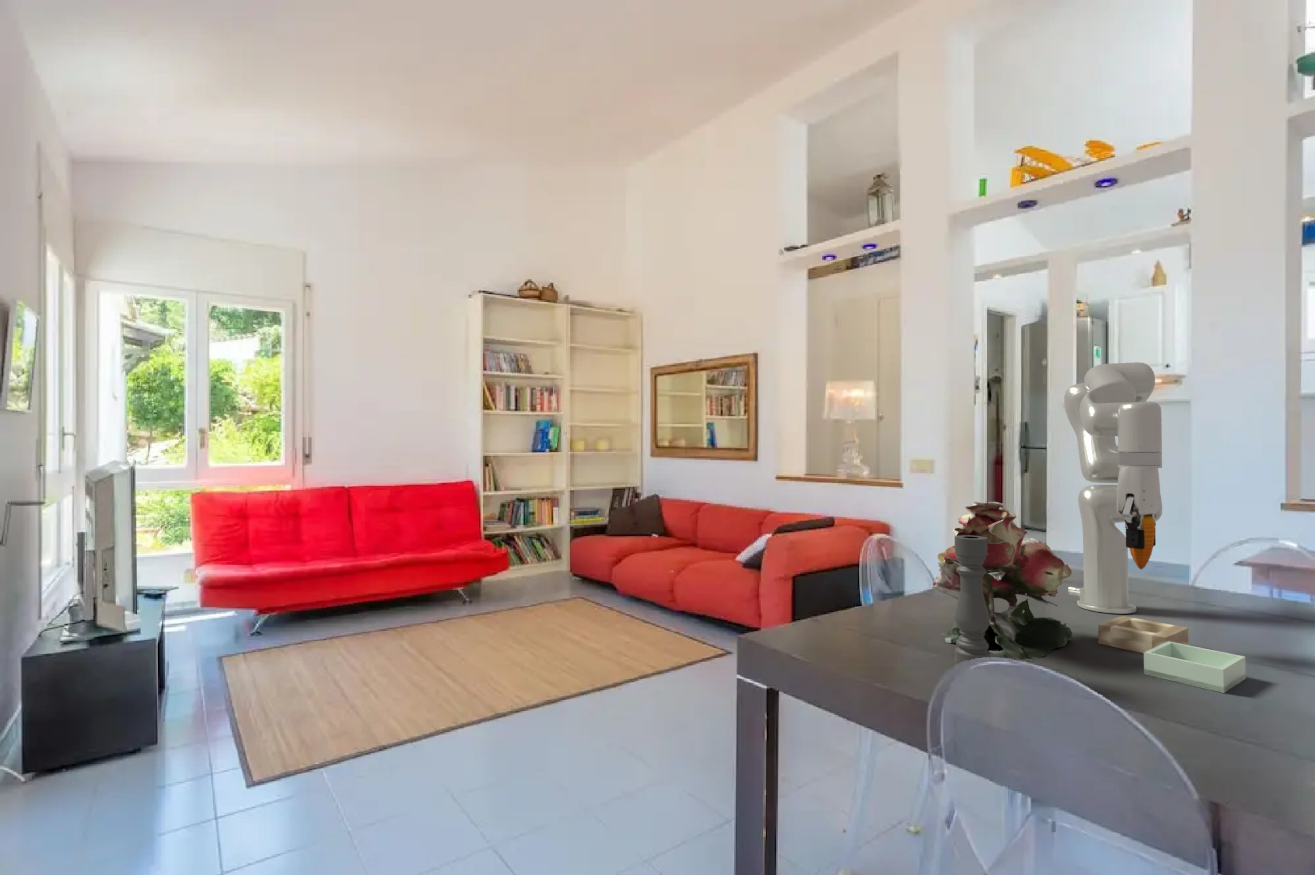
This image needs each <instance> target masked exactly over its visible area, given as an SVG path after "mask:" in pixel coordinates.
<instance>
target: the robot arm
mask: <svg viewBox="0 0 1315 875" xmlns="http://www.w3.org/2000/svg"><path fill="white" fill-rule="evenodd" d="M1083 378H1084V379H1083V380H1084V382H1081V383H1076V384H1073V385H1070V386H1069V387H1068V388H1067V389H1065V391H1064V392H1065V393H1064V397H1063V400H1064V402H1063V403H1064V409H1065V414H1066V417H1067V419H1068V421H1069V424H1070V426H1071V427H1072V429H1073V432H1074V434H1075V436H1076V440H1077V448H1078V455H1079V456H1078V458H1079V464H1080V470H1081V473H1082V477H1083V478H1084V479H1085V480H1086V481H1087V482H1090V483H1097V484H1092V485H1088V486H1085V487H1083V488H1082V489H1081V490H1080V491H1079V493H1078V496H1077V497H1078V498H1077V499H1078V500H1077V501H1078V508H1079V512H1080V519H1081V524H1082V546H1083V547H1082V550H1083V552H1082V553H1083V554H1082V555H1083V558H1082V559H1083V586H1082V587H1077V586H1076V587H1075V586H1068V588H1067V594H1068V595H1070V596H1077V597H1078V598H1079V599H1077V600H1076V604H1077V606H1078V607H1079V608H1082V609H1084V610H1088V611H1091V612H1092V611H1093V612H1097V613H1098V612H1099V613H1105V614H1116V615H1118V614H1119V615H1120V614H1125V615H1126V614H1133V613H1136V612H1137V606H1136V605H1135V604H1134V603H1132V602H1131V603H1130V602H1129V601H1130V600H1129V552H1128V551H1129V548H1134V549H1144V548H1145V535H1144V530H1142V526H1143V516H1144V515H1146V516H1150V517H1152V518H1153V519H1154V521H1155V527H1156V525H1157V524H1156V523H1157V522H1158V521H1159V519H1161V516H1162V513H1163V502H1162V495H1161V483H1160V472H1159V469H1162V468H1163V442H1162V441H1163V440H1162V439H1163V438H1162V437H1163V435H1162V427H1163V426H1162V421H1163V420H1162V408H1161V407H1162V406H1161V405H1160V404H1159V403H1157V402H1155V401H1147V400H1149V398H1150V396H1151V395H1152V394H1153V392H1154V389H1155V386H1156V376H1155V372H1154V370H1153V368H1152V367H1151V366H1150V365H1148V363H1144V362H1138V361H1137V362H1119V363H1118V362H1117V363H1103V364H1101V363H1100V364H1097V365H1096V366H1095V365H1094V366H1093V367H1091V368H1090V369H1088V370H1087V372H1086V373H1085V375H1084V377H1083ZM1116 437H1117V443H1116ZM1151 505H1152V507H1151ZM1136 512H1138V513H1139V514H1137V513H1136ZM1136 518H1138V522H1137V519H1136ZM1117 523H1118V524H1121V523H1124V528H1125V533H1124V532H1122V531H1121V530H1120V529H1119V528H1118V527H1117V526H1116V525H1115V524H1117ZM1156 544H1157V543H1156V535H1155V536H1154V545H1153V547H1155V546H1156Z"/></svg>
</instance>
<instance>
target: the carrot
mask: <svg viewBox="0 0 1315 875" xmlns="http://www.w3.org/2000/svg"><path fill="white" fill-rule="evenodd" d="M1151 507H1152V505H1151ZM1136 513H1137V514H1139V513H1138V512H1136ZM1136 519H1137V522H1138V518H1136ZM1142 530H1144V535H1145V548H1144V549H1134V548H1128V550H1129V551H1130V555H1131V557H1132V559H1133V562H1134V563H1135V565H1136V566H1137V568H1138V569H1140V570H1143V569H1144V568H1145V567H1146V565H1147V564H1148V562H1149V560H1150V559H1151V556H1152V553H1153V549H1154V546H1153V545H1154V536H1155V537H1156V526H1155V521H1154V519H1153V518H1152V517H1150V516H1146V515H1144V516H1143V526H1142Z"/></svg>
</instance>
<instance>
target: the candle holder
mask: <svg viewBox="0 0 1315 875" xmlns="http://www.w3.org/2000/svg"><path fill="white" fill-rule="evenodd" d="M954 544H955V554H956V555H957V556H956V557H957V559H958V561H959V563H960V566H958V567H957V568H956V571H957V572H958V573H959V575H960V586H961V591H960V596H959V600H958V599H957V604H956V609H955V614H954V623H956V625H957V627H958V628H959V629H960V631H959V632H960V633H961V635H960V637H959V639H957V641H956V643H955V644H956V646H957V647H955V649H954V666H955V665H956V664H958V663H960V662H962V661H964V660H971V659H975V658H982V657H990V658H991V652H989V651H990V650H989V647H990V645H989V644H990V643H987V642H986V640H985V638H983V636H984V635H985V631H986V630H987V628H988V627H989V623H990V618H989V615H988V611H987V607H986V603H985V599H984V595H983V583H982V577H983V575H985V574H986V569H985V568H983V567H982V565H983V563H984V561H985V559H986V556H987V538H986V537H982V536H970V535H961V536H955V535H954ZM987 649H988V650H987Z"/></svg>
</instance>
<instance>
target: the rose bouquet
mask: <svg viewBox="0 0 1315 875" xmlns="http://www.w3.org/2000/svg"><path fill="white" fill-rule="evenodd" d="M1003 506H1004V503H1001V502H997V501H987V502H985V503H984V502H977V501H975V502H974V504H971V505H970V506H969V505H968V506H964V507H965V509H966V510H967V511H968V512H970V513H967V514H963V515H962V516H960V517H959V518H957V520H958V524H960V525H962V527H953V529H952V534H953V535H954V537H955V536H961V535H970V536H982V537H986V538H987V556H986V559H985V561H984V563H983V565H982V567H983V568H985V569H986V574H985V575H983V577H982V583H983V595H984V599H985V603H986V607H987V611H988V615H989V618H990V623H989V627H988V628H987V630H986V631H985V635H984V636H983V638H985V640H986V642H987V643H988V644H993V643H994V640H995V643H996V644H997V645H999V646H1000V647H1001V648H1002V650H1000V651H999V650H989V648H988V649H987V650H988V651H989V652H990V654H994V655H997V656H999V657H1002V658H1005V659H1007V658H1011V659H1014V660H1025V661H1028V662H1027V663H1029V662H1032V661H1033V659H1031V658H1035V659H1034V661H1035V660H1038V659H1042V658H1044V657H1045V656H1047V655H1049V654H1050V653H1051V654H1052V652H1051V651H1053V650H1055V649H1059V648H1062V647H1065V646H1066V645H1067V644H1068V641H1071V640H1073V631H1072V630H1071V629H1072V628H1070V627H1069V626H1067V623H1066V622H1065V623H1064V624H1062V622H1061V621H1060V620H1058V619H1055V618H1052V617H1044V616H1043V617H1041V616H1039V617H1035V616H1034V614H1033V612H1032V611H1031V609H1030V604H1029V598H1032V599H1033V600H1036V601H1038V602H1041V603H1044V604H1046V605H1049V604H1051V605H1053V606H1055V607H1058V605H1057V604H1054V602H1051V601H1048V600H1046V599H1044V598H1043V597H1045V596H1049V597H1052V598H1056V595H1057V594H1058V593H1059V592H1058V588H1059V586H1061V585H1062V584H1063V582H1062V580H1063V579H1066V578H1069V577H1070V576H1071V575H1072V569H1071V567H1070V566H1069V564H1065V562H1064V561H1063V560H1062V559H1061V558H1059V557H1058V556H1057V555H1056V554H1055V553H1054V552H1053V551H1052V549H1051V547H1050V546H1049V545H1048V544H1047V543H1046V542H1044V541H1041V540H1039V539H1037V538H1032V537H1025V535H1026V534H1028V531H1027V530H1025V528H1024V527H1022V528H1020V527H1018V525H1017V524H1015V522H1013V521H1014V520H1015V519H1016V518H1017V515H1016V513H1014V512H1010V511H1009V510H1008V509H1006V508H1004V507H1003ZM956 556H957V555H956V554H955V543H954V544H953V545H952V546H949V547H948V548H947V549H945V551H943V552H939V553H938V554H937V559H938V561H937V564H938V571H939V572H940V574H939V576H935V580H937V581H936V582H933V583H932V587H931V588H932V589H934V590H936V591H938V592H940V593H943V594H945V595H948V596H950V597H952V598H954V599H956V600H957V601H958V600H959V596H960V591H961V586H960V575H959V573H958V572H957V571H956V568H957V567H958V566H960V563H959V561H958V559H957V557H956ZM1017 595H1018V596H1019V595H1020V596H1023V597H1028V598H1026V599H1025V600H1024V601H1021V602H1019V603H1018V604H1017V602H1018V598H1017ZM995 599H1002V600H1005V601H1007V603H1008V608H1007V609H1006V610H1003V611H1002V612H996V611H995ZM1023 611H1024V612H1023ZM959 631H960V629H959V628H958V627H957V625H956V623H955V622H953V624H952V626H951V629H949V630H947V631H945V632H942V633H939V635H940V636H950V637H944V641H945V643H948V644H956V641H957V639H959V637H960V635H961V633H960V632H959Z"/></svg>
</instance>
